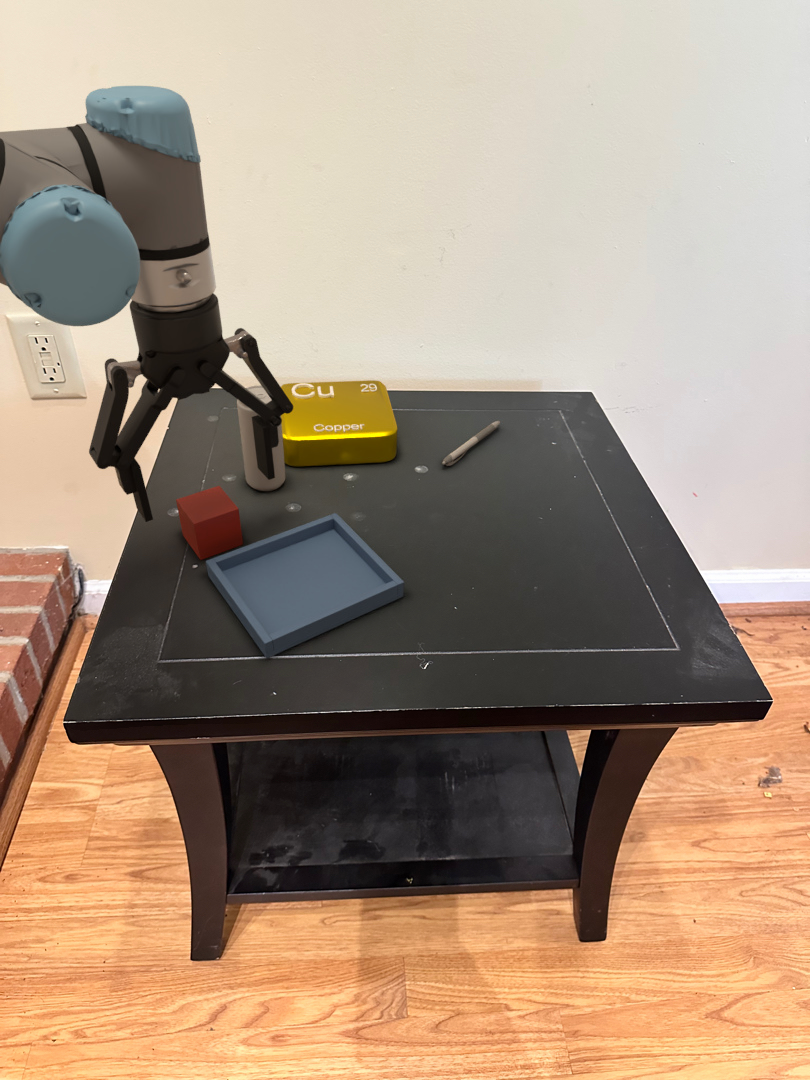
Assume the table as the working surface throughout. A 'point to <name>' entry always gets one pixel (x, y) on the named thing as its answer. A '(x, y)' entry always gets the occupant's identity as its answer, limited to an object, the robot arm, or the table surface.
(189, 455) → the table surface
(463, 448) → the pen
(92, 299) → the robot arm
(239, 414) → the beverage can
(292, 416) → the element tile
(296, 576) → the slate tray
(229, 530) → the red block
